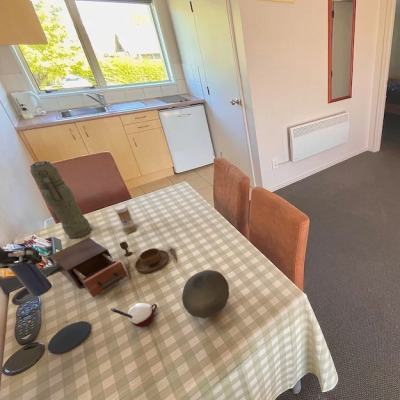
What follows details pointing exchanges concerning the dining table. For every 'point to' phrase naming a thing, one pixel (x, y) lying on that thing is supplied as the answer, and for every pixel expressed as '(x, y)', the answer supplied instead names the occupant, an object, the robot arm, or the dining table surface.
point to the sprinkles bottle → (125, 218)
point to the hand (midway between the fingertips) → (27, 261)
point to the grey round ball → (205, 294)
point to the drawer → (100, 274)
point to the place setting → (148, 259)
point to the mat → (69, 337)
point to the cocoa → (139, 314)
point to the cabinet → (77, 257)
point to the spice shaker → (31, 277)
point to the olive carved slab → (60, 199)
